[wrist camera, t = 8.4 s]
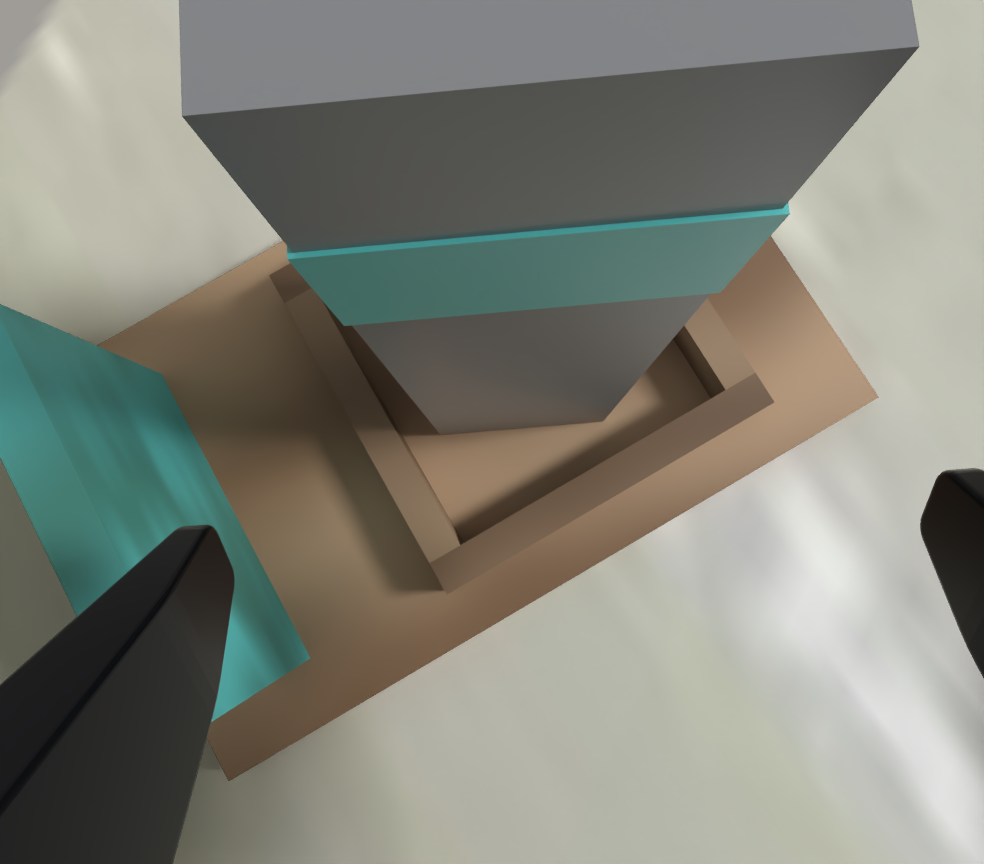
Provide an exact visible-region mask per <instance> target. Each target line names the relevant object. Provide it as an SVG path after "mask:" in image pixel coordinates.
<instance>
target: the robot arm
mask: <svg viewBox="0 0 984 864" xmlns="http://www.w3.org/2000/svg"><path fill="white" fill-rule="evenodd" d="M920 529H921V535H922V538H923V541H924V544H925V546H926V548H927V551H928V553H929V556H930V558H931V561H932V563H933V566H934V568H935V571H936V573H937V575H938V578H939V580H940V583H941V585H942V588H943V590H944V593H945V595H946V598H947V600H948V603H949V605H950V607H951V610H952V612H953V615H954V617H955V620H956V622H957V625H958V627H959V630H960V632H961V634H962V636H963V638H964V641H965V643H966V645H967V647H968V649H969V651H970V653H971V655H972V657H973V659H974V661H975V663H976V665H977V667H978V669H979V671H980V672H981V674H982V676H983V678H984V471H983V470H981V469H975V468H970V469H956V470H947V471H944V472H942V473H941V474H940V475H939V476H938V477H937V479H936V481H935V483H934V486H933V489H932V491H931V494H930V496H929V499H928V501H927V504H926V507H925V509H924V512H923V514H922V517H921V523H920ZM234 586H235V577H234V571H233V567H232V565H231V562H230V560H229V558H228V555H227V553H226V551H225V548H224V546H223V544H222V541H221V539H220V537H219V534H218V532H217V531H216V529H215V528H214V527H213V526H211V525H195V526H183V527H179V528H178V529H176V530H175V531H173V532H172V533H171V534H170V535H169V536H168V537H166V538H165V539H164V540H163V541H162V542H161V543H160V544H158V545H157V546H156V547H155V548H154V549H153V550H152V551H151V552H149V553H148V554H147V555H146V556H145V557H144V558H143V559H142V560H140V561H139V562H138V563H137V564H136V565H135V566H134V567H133V568H131V569H130V570H129V571H128V572H127V573H126V574H125V575H123V576H122V577H121V578H120V579H119V580H118V581H117V582H116V583H114V584H113V585H112V586H111V587H110V588H109V589H108V590H107V591H105V592H104V593H103V594H102V595H101V596H100V597H99V598H98V599H96V600H95V601H94V602H93V603H92V604H91V605H90V606H88V607H87V608H86V609H85V610H84V611H83V612H82V613H81V614H79V615H78V616H77V617H76V618H75V619H74V620H73V621H72V622H70V623H69V624H68V625H67V626H66V627H65V628H64V629H63V630H61V631H60V632H59V633H58V634H57V635H56V636H55V637H53V638H52V639H51V640H50V641H49V642H48V643H47V644H46V645H44V646H43V647H42V648H41V649H40V650H39V651H38V652H37V653H35V654H34V655H33V656H32V657H31V658H30V659H29V660H27V661H26V662H25V663H24V664H23V665H22V666H21V667H20V668H18V669H17V670H16V671H15V672H14V673H13V674H12V675H11V676H9V677H8V678H7V679H6V680H5V681H4V682H3V683H2V684H0V864H173V861H174V857H175V854H176V850H177V846H178V843H179V839H180V835H181V832H182V828H183V824H184V821H185V817H186V813H187V809H188V806H189V802H190V798H191V795H192V791H193V787H194V784H195V780H196V776H197V772H198V769H199V765H200V761H201V758H202V754H203V750H204V747H205V743H206V739H207V735H208V732H209V728H210V724H211V721H212V717H213V713H214V709H215V705H216V701H217V696H218V691H219V685H220V679H221V673H222V666H223V659H224V653H225V646H226V640H227V633H228V626H229V620H230V613H231V606H232V600H233V593H234Z"/></svg>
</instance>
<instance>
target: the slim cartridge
mask: <svg viewBox="0 0 984 864" xmlns="http://www.w3.org/2000/svg"><path fill="white" fill-rule="evenodd" d="M179 19H180V57H181V94H182V117H183V118H184V119H185V120H186V121H187V123H188V124H189V125H190V126H191V128H192V129H193V130H194V131H195V133H196V134H197V135H198V136H199V138H200V139H201V140H202V141H203V142H204V144H205V145H206V146H207V147H208V149H209V150H210V151H211V152H212V154H213V155H214V156H215V157H216V158H217V160H218V161H219V162H220V163H221V165H222V166H223V167H224V168H225V170H226V171H227V172H228V173H229V175H230V176H231V177H232V178H233V179H234V181H235V182H236V183H237V184H238V186H239V187H240V188H241V189H242V191H243V192H244V193H245V194H246V195H247V197H248V198H249V199H250V200H251V202H252V203H253V204H254V205H255V207H256V208H257V209H258V210H259V212H260V213H261V214H262V215H263V216H264V218H265V219H266V220H267V221H268V223H269V224H270V225H271V226H272V228H273V229H274V230H275V231H276V232H277V234H278V235H279V236H280V237H281V239H282V240H283V241H284V242H285V244H286V245H287V260H288V261H289V262H290V263H291V264H292V265H293V267H294V268H295V269H296V270H297V271H298V272H299V274H300V275H301V276H302V277H303V278H304V279H305V281H306V282H307V283H308V284H309V285H310V287H311V288H312V289H313V290H314V291H315V292H316V294H317V295H318V296H319V297H320V298H321V299H322V301H323V302H324V303H325V304H326V305H327V306H328V308H329V309H330V310H331V311H332V312H333V314H334V315H335V316H336V317H337V318H338V319H339V321H340V322H341V323H342V324H343V325H344V326H351V325H352V326H353V327H354V329H355V330H356V331H357V332H358V334H359V335H360V336H361V337H362V339H363V340H364V341H365V342H366V343H367V345H368V346H369V347H370V348H371V350H372V351H373V352H374V353H375V355H376V356H377V357H378V358H379V360H380V361H381V362H382V363H383V364H384V366H385V367H386V368H387V369H388V371H389V372H390V373H391V374H392V376H393V377H394V378H395V379H396V380H397V382H398V383H399V384H400V385H401V387H402V388H403V389H404V390H405V392H406V393H407V394H408V395H409V397H410V398H411V399H412V400H413V401H414V403H415V404H416V405H417V406H418V408H419V409H420V410H421V411H422V413H423V414H424V415H425V416H426V417H427V419H428V420H429V421H430V422H431V424H432V425H433V426H434V427H435V429H436V430H437V431H438V432H439V434H440V435H449V434H461V433H473V432H485V431H496V430H508V429H520V428H532V427H544V426H555V425H567V424H579V423H591V422H603V421H604V420H605V419H606V418H607V416H608V415H609V414H610V413H611V412H612V410H613V409H614V408H615V407H616V406H617V405H618V403H619V402H620V401H621V400H622V399H623V397H624V396H625V395H626V394H627V393H628V391H629V390H630V389H631V388H632V387H633V386H634V384H635V383H636V382H637V381H638V380H639V378H640V377H641V376H642V375H643V374H644V372H645V371H646V370H647V369H648V368H649V367H650V365H651V364H652V363H653V362H654V361H655V359H656V358H657V357H658V356H659V355H660V354H661V352H662V351H663V350H664V349H665V348H666V346H667V345H668V344H669V343H670V342H671V340H672V339H673V338H674V337H675V336H676V335H677V333H678V332H679V331H680V330H681V329H682V327H683V326H684V325H685V324H686V323H687V321H688V320H689V319H690V318H691V317H692V316H693V314H694V313H695V312H696V311H697V310H698V308H699V307H700V306H701V305H702V304H703V303H704V301H705V300H706V299H707V298H708V297H709V295H710V294H714V293H721V291H722V290H723V289H724V288H725V287H726V286H727V285H728V283H729V282H730V281H731V280H732V279H733V278H734V277H735V276H736V274H737V273H738V272H739V271H740V270H741V269H742V268H743V266H744V265H745V264H746V263H747V262H748V261H749V260H750V258H751V257H752V256H753V255H754V254H755V253H756V252H757V250H758V249H759V248H760V247H761V246H762V245H763V244H764V243H765V241H766V240H767V239H768V238H769V237H770V236H771V235H772V233H773V232H774V231H775V230H776V229H777V228H778V227H779V225H780V224H781V223H782V222H783V221H784V220H785V219H786V218H787V216H788V215H789V214H790V213H789V206H788V202H789V200H790V199H791V198H792V197H793V196H794V195H795V193H796V192H797V191H798V190H799V189H800V187H801V186H802V185H803V184H804V183H805V181H806V180H807V179H808V178H809V177H810V176H811V174H812V173H813V172H814V171H815V170H816V168H817V167H818V166H819V165H820V164H821V163H822V161H823V160H824V159H825V158H826V157H827V155H828V154H829V153H830V152H831V151H832V149H833V148H834V147H835V146H836V145H837V144H838V142H839V141H840V140H841V139H842V138H843V136H844V135H845V134H846V133H847V132H848V130H849V129H850V128H851V127H852V126H853V125H854V123H855V122H856V121H857V120H858V119H859V117H860V116H861V115H862V114H863V113H864V111H865V110H866V109H867V108H868V107H869V106H870V104H871V103H872V102H873V101H874V100H875V98H876V97H877V96H878V95H879V94H880V93H881V91H882V90H883V89H884V88H885V87H886V85H887V84H888V83H889V82H890V81H891V79H892V78H893V77H894V76H895V75H896V74H897V72H898V71H899V70H900V69H901V68H902V66H903V65H904V64H905V63H906V62H907V60H908V59H909V58H910V57H911V56H912V55H913V53H914V52H915V51H916V50H917V49H918V47H919V41H918V36H917V30H916V24H915V18H914V12H913V7H912V1H911V0H179Z"/></svg>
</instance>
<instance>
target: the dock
mask: <svg viewBox="0 0 984 864" xmlns="http://www.w3.org/2000/svg"><path fill="white" fill-rule="evenodd" d="M877 398H878V395H877V394H876V392H875V391H874V389H873V388H872V386H871V385H870V383H869V382H868V380H867V379H866V377H865V376H864V374H863V373H862V371H861V370H860V368H859V367H858V365H857V364H856V362H855V361H854V360H853V358H852V357H851V355H850V354H849V352H848V351H847V349H846V348H845V346H844V345H843V343H842V342H841V340H840V339H839V337H838V336H837V334H836V333H835V331H834V330H833V328H832V327H831V325H830V324H829V322H828V321H827V319H826V318H825V316H824V315H823V313H822V312H821V310H820V309H819V307H818V306H817V304H816V303H815V301H814V300H813V298H812V297H811V295H810V294H809V292H808V291H807V289H806V288H805V286H804V285H803V283H802V282H801V280H800V279H799V277H798V276H797V274H796V273H795V271H794V270H793V268H792V267H791V265H790V264H789V262H788V261H787V259H786V258H785V256H784V255H783V253H782V252H781V251H780V249H779V248H778V246H777V245H776V243H775V242H774V240H773V239H772V237H771V236H770V237H769V238H768V239H767V240H766V241H765V243H764V244H763V245H762V246H761V247H760V248H759V249H758V250H757V252H756V253H755V254H754V255H753V256H752V257H751V258H750V260H749V261H748V262H747V263H746V264H745V265H744V266H743V268H742V269H741V270H740V271H739V272H738V273H737V274H736V276H735V277H734V278H733V279H732V280H731V281H730V282H729V283H728V285H727V286H726V287H725V288H724V289H723V290H722V291H721V293H714V294H710V295H709V297H708V298H707V299H706V300H705V301H704V303H703V304H702V305H701V306H700V307H699V308H698V310H697V311H696V312H695V313H694V314H693V316H692V317H691V318H690V319H689V320H688V321H687V323H686V324H685V325H684V326H683V327H682V329H681V330H680V331H679V332H678V333H677V335H676V336H675V337H674V338H673V339H672V340H671V342H670V343H669V344H668V345H667V346H666V348H665V349H664V350H663V351H662V352H661V354H660V355H659V356H658V357H657V358H656V359H655V361H654V362H653V363H652V364H651V365H650V367H649V368H648V369H647V370H646V371H645V372H644V374H643V375H642V376H641V377H640V378H639V380H638V381H637V382H636V383H635V384H634V386H633V387H632V388H631V389H630V390H629V391H628V393H627V394H626V395H625V396H624V397H623V399H622V400H621V401H620V402H619V403H618V405H617V406H616V407H615V408H614V409H613V410H612V412H611V413H610V414H609V415H608V416H607V418H606V419H605V420H604V421H603V422H591V423H579V424H567V425H555V426H544V427H532V428H520V429H508V430H496V431H485V432H473V433H461V434H449V435H440V434H439V432H438V431H437V430H436V429H435V427H434V426H433V425H432V424H431V422H430V421H429V420H428V419H427V417H426V416H425V415H424V414H423V413H422V411H421V410H420V409H419V408H418V406H417V405H416V404H415V403H414V401H413V400H412V399H411V398H410V397H409V395H408V394H407V393H406V392H405V390H404V389H403V388H402V387H401V385H400V384H399V383H398V382H397V380H396V379H395V378H394V377H393V376H392V374H391V373H390V372H389V371H388V369H387V368H386V367H385V366H384V364H383V363H382V362H381V361H380V360H379V358H378V357H377V356H376V355H375V353H374V352H373V351H372V350H371V348H370V347H369V346H368V345H367V343H366V342H365V341H364V340H363V339H362V337H361V336H360V335H359V334H358V332H357V331H356V330H355V329H354V327H353V326H352V325H351V326H344V325H343V324H342V323H341V322H340V321H339V319H338V318H337V317H336V316H335V315H334V314H333V312H332V311H331V310H330V309H329V308H328V306H327V305H326V304H325V303H324V302H323V301H322V299H321V298H320V297H319V296H318V295H317V294H316V292H315V291H314V290H313V289H312V288H311V287H310V285H309V284H308V283H307V282H306V281H305V279H304V278H303V277H302V276H301V275H300V274H299V272H298V271H297V270H296V269H295V268H294V267H293V265H292V264H291V263H290V262H289V261H288V260H287V245H286V244H285V242H284V241H283V242H281V243H279V244H277V245H276V246H274V247H272V248H270V249H269V250H267V251H265V252H263V253H261V254H260V255H258V256H256V257H254V258H252V259H251V260H249V261H247V262H245V263H244V264H242V265H240V266H238V267H236V268H235V269H233V270H231V271H229V272H227V273H226V274H224V275H222V276H220V277H219V278H217V279H215V280H213V281H211V282H210V283H208V284H206V285H204V286H202V287H201V288H199V289H197V290H195V291H194V292H192V293H190V294H188V295H186V296H185V297H183V298H181V299H179V300H178V301H176V302H174V303H172V304H170V305H169V306H167V307H165V308H163V309H161V310H160V311H158V312H156V313H154V314H153V315H151V316H149V317H147V318H145V319H144V320H142V321H140V322H138V323H136V324H135V325H133V326H131V327H129V328H128V329H126V330H124V331H122V332H120V333H119V334H117V335H115V336H113V337H111V338H110V339H108V340H106V341H104V342H103V343H101V344H99V345H97V346H96V345H94V344H91V343H89V342H87V341H84V340H82V339H80V338H77V337H75V336H73V335H71V334H68V333H66V332H64V331H61V330H59V329H57V328H54V327H52V326H50V325H47V324H45V323H43V322H40V321H38V320H36V319H33V318H31V317H29V316H27V315H24V314H22V313H20V312H17V311H15V310H13V309H10V308H8V307H6V306H3V305H1V304H0V458H1V460H2V462H3V464H4V466H5V468H6V470H7V472H8V474H9V477H10V479H11V481H12V483H13V485H14V487H15V489H16V491H17V493H18V495H19V497H20V499H21V501H22V503H23V506H24V508H25V510H26V512H27V514H28V516H29V518H30V520H31V522H32V524H33V526H34V528H35V530H36V533H37V535H38V537H39V539H40V541H41V543H42V545H43V547H44V549H45V551H46V553H47V555H48V557H49V559H50V562H51V564H52V566H53V568H54V570H55V572H56V574H57V576H58V578H59V580H60V582H61V584H62V586H63V589H64V591H65V593H66V595H67V597H68V599H69V601H70V603H71V605H72V607H73V609H74V611H75V613H76V615H77V616H78V615H79V614H81V613H82V612H83V611H84V610H85V609H86V608H87V607H88V606H90V605H91V604H92V603H93V602H94V601H95V600H96V599H98V598H99V597H100V596H101V595H102V594H103V593H104V592H105V591H107V590H108V589H109V588H110V587H111V586H112V585H113V584H114V583H116V582H117V581H118V580H119V579H120V578H121V577H122V576H123V575H125V574H126V573H127V572H128V571H129V570H130V569H131V568H133V567H134V566H135V565H136V564H137V563H138V562H139V561H140V560H142V559H143V558H144V557H145V556H146V555H147V554H148V553H149V552H151V551H152V550H153V549H154V548H155V547H156V546H157V545H158V544H160V543H161V542H162V541H163V540H164V539H165V538H166V537H168V536H169V535H170V534H171V533H172V532H173V531H175V530H176V529H178V528H179V527H183V526H195V525H211V526H213V527H214V528H215V529H216V531H217V532H218V534H219V537H220V539H221V541H222V544H223V546H224V548H225V551H226V553H227V555H228V558H229V560H230V562H231V565H232V567H233V571H234V577H235V586H234V593H233V600H232V606H231V613H230V620H229V626H228V633H227V640H226V646H225V653H224V659H223V666H222V673H221V679H220V685H219V691H218V696H217V701H216V705H215V709H214V713H213V717H212V721H211V724H210V728H209V732H208V735H207V739H208V741H209V743H210V745H211V747H212V749H213V751H214V753H215V755H216V757H217V759H218V761H219V763H220V765H221V767H222V769H223V771H224V773H225V775H226V777H227V779H228V781H230V780H232V779H233V778H235V777H237V776H239V775H240V774H242V773H244V772H245V771H247V770H249V769H250V768H252V767H254V766H255V765H257V764H259V763H261V762H262V761H264V760H266V759H267V758H269V757H271V756H272V755H274V754H276V753H277V752H279V751H281V750H283V749H284V748H286V747H288V746H289V745H291V744H293V743H294V742H296V741H298V740H299V739H301V738H303V737H305V736H306V735H308V734H310V733H311V732H313V731H315V730H316V729H318V728H320V727H321V726H323V725H325V724H327V723H328V722H330V721H332V720H333V719H335V718H337V717H338V716H340V715H342V714H343V713H345V712H347V711H349V710H350V709H352V708H354V707H355V706H357V705H359V704H360V703H362V702H364V701H365V700H367V699H369V698H371V697H372V696H374V695H376V694H377V693H379V692H381V691H382V690H384V689H386V688H387V687H389V686H391V685H393V684H394V683H396V682H398V681H399V680H401V679H403V678H404V677H406V676H408V675H409V674H411V673H413V672H415V671H416V670H418V669H420V668H421V667H423V666H425V665H426V664H428V663H430V662H431V661H433V660H435V659H437V658H438V657H440V656H442V655H443V654H445V653H447V652H448V651H450V650H452V649H453V648H455V647H457V646H459V645H460V644H462V643H464V642H465V641H467V640H469V639H470V638H472V637H474V636H475V635H477V634H479V633H481V632H482V631H484V630H486V629H487V628H489V627H491V626H492V625H494V624H496V623H497V622H499V621H501V620H503V619H504V618H506V617H508V616H509V615H511V614H513V613H514V612H516V611H518V610H519V609H521V608H523V607H525V606H526V605H528V604H530V603H531V602H533V601H535V600H536V599H538V598H540V597H541V596H543V595H545V594H547V593H548V592H550V591H552V590H553V589H555V588H557V587H558V586H560V585H562V584H563V583H565V582H567V581H569V580H570V579H572V578H574V577H575V576H577V575H579V574H580V573H582V572H584V571H585V570H587V569H589V568H591V567H592V566H594V565H596V564H597V563H599V562H601V561H602V560H604V559H606V558H607V557H609V556H611V555H613V554H614V553H616V552H618V551H619V550H621V549H623V548H624V547H626V546H628V545H629V544H631V543H633V542H635V541H636V540H638V539H640V538H641V537H643V536H645V535H646V534H648V533H650V532H651V531H653V530H655V529H657V528H658V527H660V526H662V525H663V524H665V523H667V522H668V521H670V520H672V519H673V518H675V517H677V516H679V515H680V514H682V513H684V512H685V511H687V510H689V509H690V508H692V507H694V506H695V505H697V504H699V503H701V502H702V501H704V500H706V499H707V498H709V497H711V496H712V495H714V494H716V493H717V492H719V491H721V490H723V489H724V488H726V487H728V486H729V485H731V484H733V483H734V482H736V481H738V480H739V479H741V478H743V477H745V476H746V475H748V474H750V473H751V472H753V471H755V470H756V469H758V468H760V467H761V466H763V465H765V464H767V463H768V462H770V461H772V460H773V459H775V458H777V457H778V456H780V455H782V454H783V453H785V452H787V451H789V450H790V449H792V448H794V447H795V446H797V445H799V444H800V443H802V442H804V441H805V440H807V439H809V438H811V437H812V436H814V435H816V434H817V433H819V432H821V431H822V430H824V429H826V428H827V427H829V426H831V425H833V424H834V423H836V422H838V421H839V420H841V419H843V418H844V417H846V416H848V415H849V414H851V413H853V412H855V411H856V410H858V409H860V408H861V407H863V406H865V405H866V404H868V403H870V402H871V401H873V400H875V399H877Z"/></svg>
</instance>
